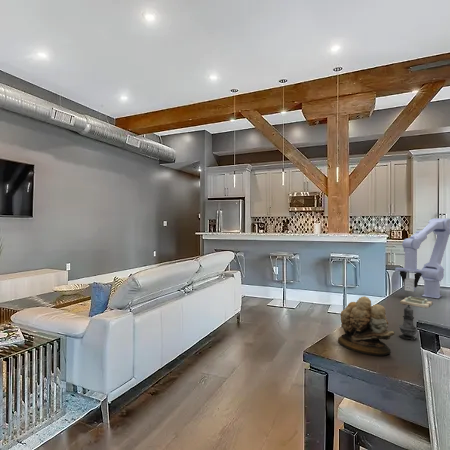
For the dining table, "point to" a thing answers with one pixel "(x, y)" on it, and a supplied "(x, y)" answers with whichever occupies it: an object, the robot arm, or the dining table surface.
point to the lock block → (410, 284)
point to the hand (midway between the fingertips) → (410, 286)
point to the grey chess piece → (408, 324)
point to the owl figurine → (365, 328)
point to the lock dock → (416, 302)
